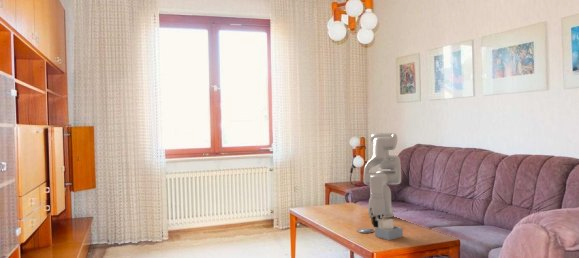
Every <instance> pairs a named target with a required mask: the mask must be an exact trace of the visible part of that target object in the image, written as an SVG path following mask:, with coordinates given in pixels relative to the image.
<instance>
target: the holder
mask: <svg viewBox="0 0 579 258" xmlns="http://www.w3.org/2000/svg"><path fill="white" fill-rule="evenodd" d="M374 232H375V237H377V238H380V239H384V240H387V241H391V240H394V239H398V238H402V237H404V236H403V234H404V233H403V227H400V226H397V225H394V229H392V230H385V229H381V228H374Z"/></svg>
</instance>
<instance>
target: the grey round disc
mask: <svg viewBox="0 0 579 258" xmlns="http://www.w3.org/2000/svg"><path fill="white" fill-rule="evenodd" d="M356 232H357V233H359V234H372V233H374V232H375V229H373V228H368V227H367V228H366V227H361V228H357V230H356Z"/></svg>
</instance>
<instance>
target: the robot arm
mask: <svg viewBox="0 0 579 258" xmlns="http://www.w3.org/2000/svg"><path fill="white" fill-rule="evenodd" d="M370 141H371V144H372V148H371V150H372V151H371V158H370V159H369V160H368V161H367V162H366V163H365V165H364V168H363V176H362V177H363V179H362V181H363V184H364V185H366V186H369V191H370V192H369V193H370V195H369V199H368V207H367V209H368V212H367V213H368V218H370V219H371V218H372V220H373V224H372V225H373V228H374V227H378V221H377V215H378V219H381V220H383V219H391V218H393V217H394V216H395V214H394V212H397V209H396V208H392V192H391V189H390V186H388V185H400V184H401V183H402V167H401V165H402V164H401V163H402V162H401V158H400V156H398V155H394V154H391V155H390V154H389V151H394V150H396V148H397V145H398V135H397V134H396V133H394V132H377V133H376V132H375V133H372V134H371V135H370ZM374 167H377V168H378V169H380V170H377V171H376V172H370V170H371V169H372V168H374ZM374 216H375V217H374Z"/></svg>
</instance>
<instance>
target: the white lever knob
mask: <svg viewBox="0 0 579 258" xmlns="http://www.w3.org/2000/svg"><path fill="white" fill-rule="evenodd" d="M377 221H378V227H374V226H373V228H374V229H375V228H381V229H385V230H392V229H394V226H395V225H394V224H395V223H394V219H393V218H382V220H381V219H377Z"/></svg>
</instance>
